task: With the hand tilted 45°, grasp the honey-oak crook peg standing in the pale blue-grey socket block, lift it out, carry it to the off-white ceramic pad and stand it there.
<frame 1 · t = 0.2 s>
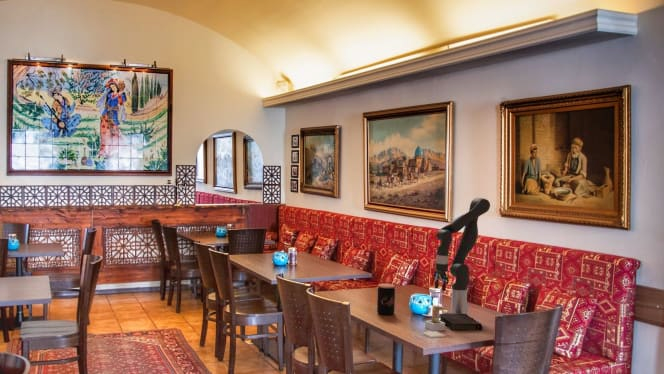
hand: (440, 289, 417), 18 cm above the table, tool pointing down, fingers open, 8 cm apart
coffee jar: (385, 314, 427), on the table
crook peg: (437, 317, 391), in the socket block
socket block: (435, 328, 392), on the table
ceramic pad: (433, 335, 378), on the table
diary: (458, 326, 402), on the table
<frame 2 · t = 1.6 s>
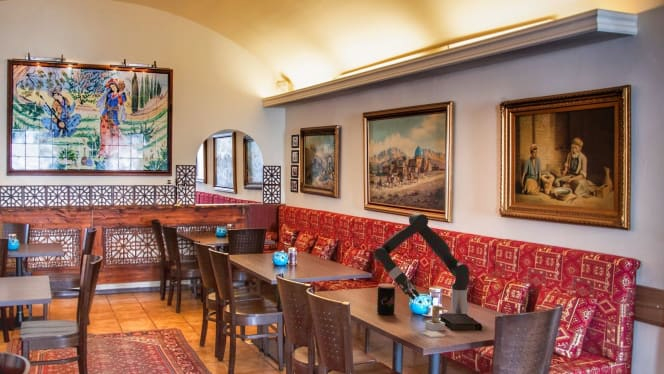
hand: (416, 297, 396), 17 cm above the table, tool tilted 45°, fingers open, 8 cm apart
nothing on the table moved.
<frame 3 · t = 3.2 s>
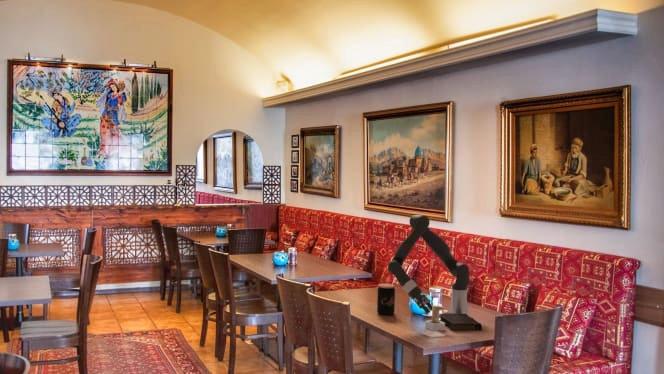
hand: (430, 311, 393), 10 cm above the table, tool tilted 45°, fingers open, 8 cm apart
nothing on the table moved.
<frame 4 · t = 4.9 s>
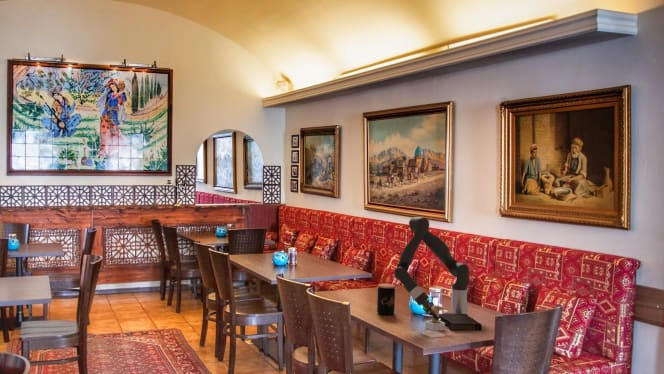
hand: (438, 318, 391), 6 cm above the table, tool tilted 45°, fingers closed on crook peg, 3 cm apart
crook peg: (437, 317, 391), in the socket block, touching gripper
everything else where it was.
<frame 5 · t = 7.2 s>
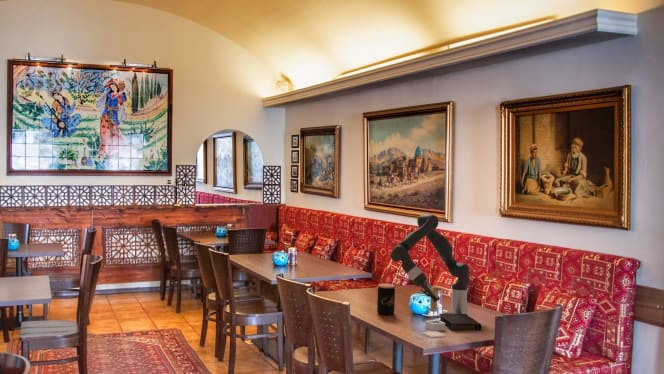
hand: (437, 300, 377), 19 cm above the table, tool tilted 45°, fingers closed on crook peg, 3 cm apart
crook peg: (436, 299, 377), point 20 cm above the table, touching gripper
everything else where it was.
when the fingers open (8 cm above the table, at t = 9.6 s): crook peg drops 1 cm, resting on ceramic pad.
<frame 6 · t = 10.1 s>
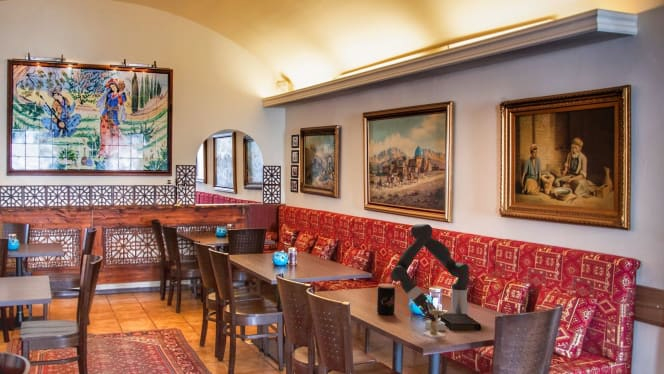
hand: (436, 319, 377), 9 cm above the table, tool tilted 45°, fingers open, 8 cm apart
crook peg: (436, 322, 377), on the ceramic pad, point 7 cm above the table
everything else where it was.
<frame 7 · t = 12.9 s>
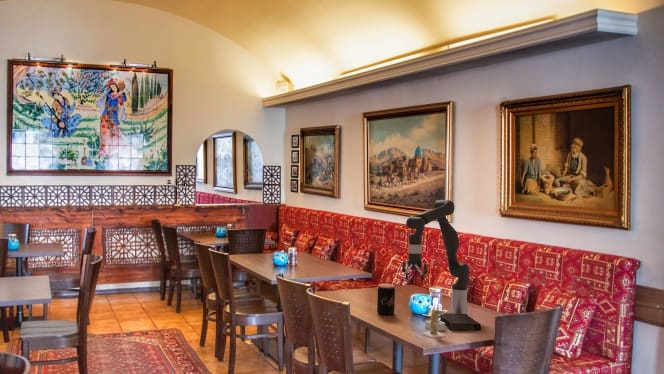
hand: (414, 280, 390), 28 cm above the table, tool pointing down, fingers open, 8 cm apart
nothing on the table moved.
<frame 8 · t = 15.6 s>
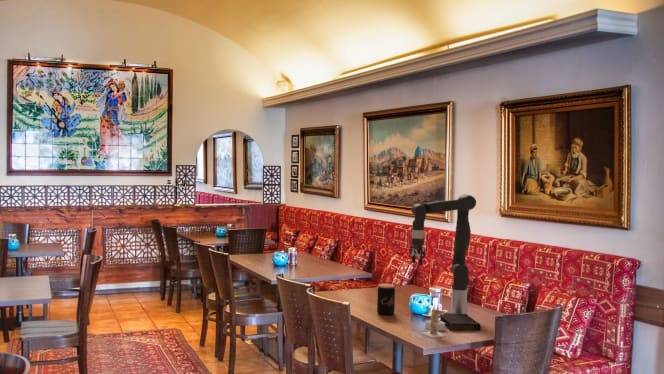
hand: (417, 264, 416), 33 cm above the table, tool pointing down, fingers open, 8 cm apart
nothing on the table moved.
at the end: crook peg inside the target area on the ceramic pad (0.2 cm from its centre), point 7.3 cm above the ceramic pad's base; crook peg tilted 1°; crook peg touching ceramic pad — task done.
